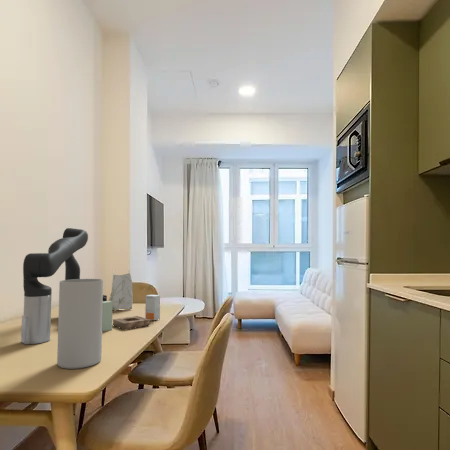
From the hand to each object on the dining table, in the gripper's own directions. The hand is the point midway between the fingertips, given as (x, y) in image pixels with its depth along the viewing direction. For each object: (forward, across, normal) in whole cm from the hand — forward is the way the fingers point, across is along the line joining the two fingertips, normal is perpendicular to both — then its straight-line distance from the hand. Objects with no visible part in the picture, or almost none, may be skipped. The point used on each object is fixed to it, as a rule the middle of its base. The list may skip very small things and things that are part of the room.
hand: (96, 301), depth 159 cm
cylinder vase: (+48, -24, +10) cm, 55 cm away
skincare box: (+6, +26, +12) cm, 29 cm away
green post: (+12, 0, +11) cm, 16 cm away
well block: (+12, +12, +11) cm, 20 cm away
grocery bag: (-43, +33, +12) cm, 56 cm away
